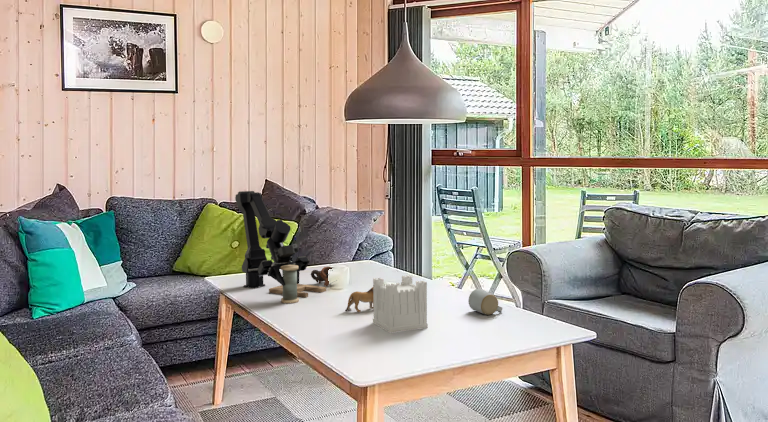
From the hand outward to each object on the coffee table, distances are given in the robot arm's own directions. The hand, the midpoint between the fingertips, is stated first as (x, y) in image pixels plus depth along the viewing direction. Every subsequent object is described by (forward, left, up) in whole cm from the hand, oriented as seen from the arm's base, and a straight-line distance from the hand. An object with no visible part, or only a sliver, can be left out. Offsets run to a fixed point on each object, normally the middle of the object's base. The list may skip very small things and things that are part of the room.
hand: (291, 284), depth 240 cm
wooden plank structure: (-9, +15, -7) cm, 19 cm away
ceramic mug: (+67, +21, -7) cm, 71 cm away
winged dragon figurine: (-9, +32, -7) cm, 34 cm away
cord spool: (-1, +1, -7) cm, 7 cm away
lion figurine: (+30, +4, -7) cm, 31 cm away
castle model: (+51, -7, -7) cm, 52 cm away
